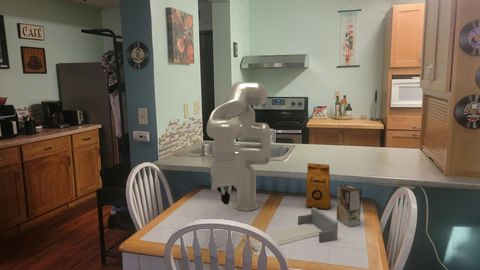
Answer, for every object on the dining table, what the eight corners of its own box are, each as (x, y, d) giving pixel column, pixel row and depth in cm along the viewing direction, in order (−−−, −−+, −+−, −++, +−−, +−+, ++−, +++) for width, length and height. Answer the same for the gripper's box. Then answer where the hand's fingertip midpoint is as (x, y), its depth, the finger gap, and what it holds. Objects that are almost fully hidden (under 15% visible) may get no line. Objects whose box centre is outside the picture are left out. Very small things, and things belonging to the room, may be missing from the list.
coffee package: (328, 211, 175) (329, 167, 171) (303, 207, 180) (304, 164, 177) (332, 205, 184) (334, 162, 180) (308, 201, 189) (309, 160, 186)
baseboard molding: (323, 237, 149) (305, 226, 159) (323, 230, 148) (306, 220, 159) (257, 254, 135) (242, 241, 146) (257, 247, 134) (242, 234, 145)
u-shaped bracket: (297, 224, 160) (298, 209, 159) (313, 222, 162) (314, 207, 161) (319, 242, 143) (320, 225, 142) (337, 239, 145) (338, 222, 144)
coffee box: (360, 224, 159) (362, 189, 157) (349, 227, 157) (350, 191, 154) (346, 217, 167) (348, 183, 165) (335, 219, 165) (336, 185, 162)
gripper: (240, 152, 140) (241, 197, 144) (202, 155, 135) (204, 202, 139) (246, 156, 133) (247, 203, 137) (207, 160, 128) (208, 209, 132)
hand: (225, 203), depth 138 cm, fingers closed
